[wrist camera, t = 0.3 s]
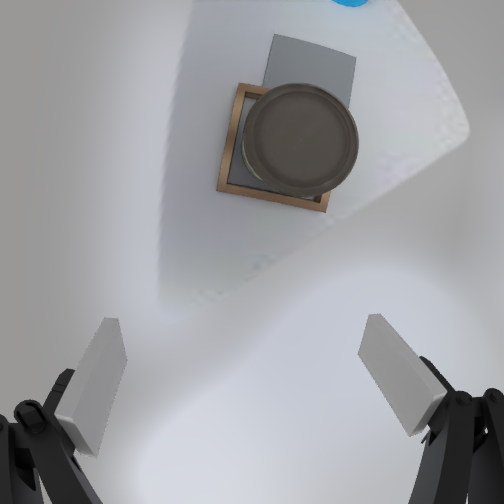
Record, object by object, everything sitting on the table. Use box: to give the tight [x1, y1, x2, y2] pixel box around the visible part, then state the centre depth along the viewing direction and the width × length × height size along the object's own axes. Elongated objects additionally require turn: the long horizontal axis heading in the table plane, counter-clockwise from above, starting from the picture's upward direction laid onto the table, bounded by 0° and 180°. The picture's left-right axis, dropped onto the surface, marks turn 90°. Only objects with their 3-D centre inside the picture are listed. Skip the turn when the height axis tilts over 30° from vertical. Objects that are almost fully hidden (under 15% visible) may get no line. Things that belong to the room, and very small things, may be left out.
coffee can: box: [241, 83, 359, 197], centre depth 30 cm, size 10×10×14 cm
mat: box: [263, 34, 356, 109], centre depth 33 cm, size 9×12×1 cm
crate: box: [216, 83, 331, 213], centre depth 35 cm, size 14×14×3 cm
